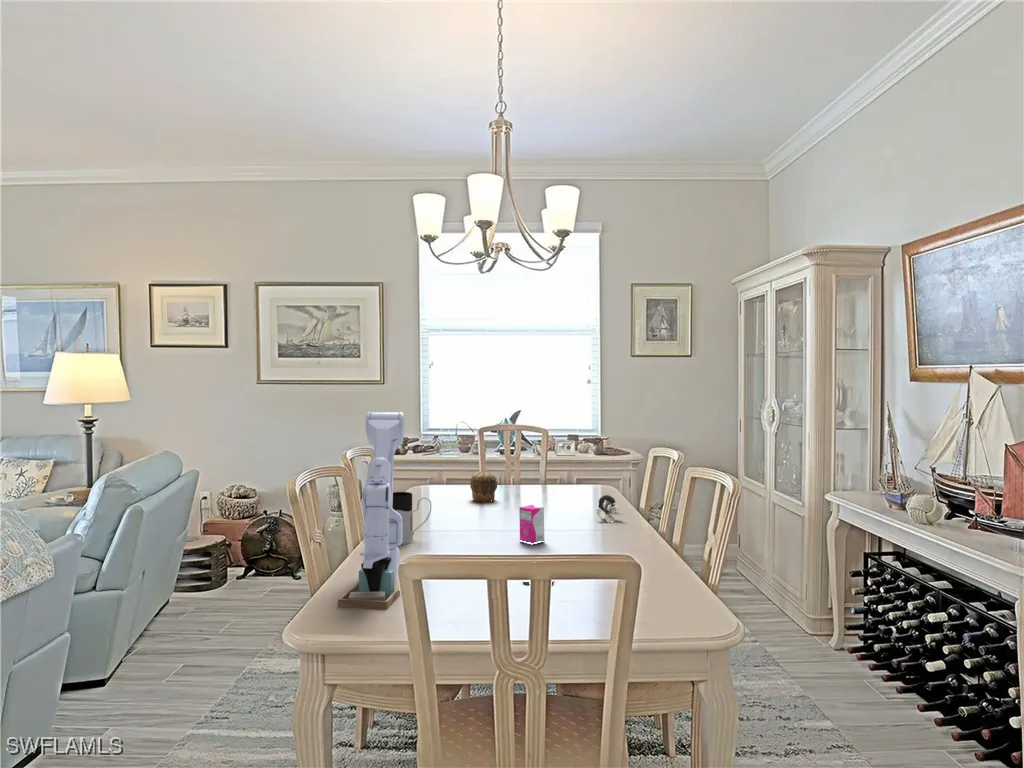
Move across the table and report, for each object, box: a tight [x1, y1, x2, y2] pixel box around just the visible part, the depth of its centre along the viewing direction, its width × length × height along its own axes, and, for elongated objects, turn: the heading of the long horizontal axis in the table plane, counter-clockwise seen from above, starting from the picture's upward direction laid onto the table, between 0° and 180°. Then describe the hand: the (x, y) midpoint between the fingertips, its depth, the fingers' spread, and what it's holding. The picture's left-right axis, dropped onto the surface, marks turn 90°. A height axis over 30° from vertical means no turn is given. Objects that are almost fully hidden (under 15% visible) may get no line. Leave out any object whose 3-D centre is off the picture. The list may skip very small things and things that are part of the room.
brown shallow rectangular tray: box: [337, 581, 401, 610], centre depth 180 cm, size 14×12×3 cm
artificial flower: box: [595, 494, 620, 523], centre depth 284 cm, size 9×22×10 cm, turn 167°
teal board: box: [358, 568, 395, 597], centre depth 184 cm, size 2×8×7 cm, turn 83°
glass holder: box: [389, 491, 432, 545], centre depth 244 cm, size 9×14×15 cm, turn 95°
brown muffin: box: [469, 471, 498, 502], centre depth 314 cm, size 11×11×12 cm
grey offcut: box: [349, 591, 386, 601], centre depth 177 cm, size 4×8×2 cm, turn 96°
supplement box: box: [518, 504, 545, 543], centre depth 243 cm, size 6×6×12 cm
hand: (376, 590), depth 184 cm, fingers closed on teal board, 2 cm apart
